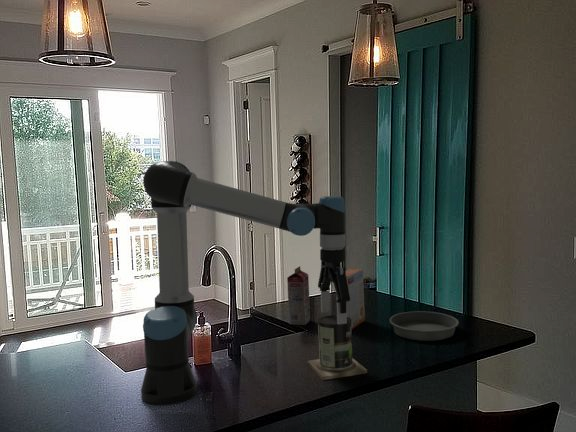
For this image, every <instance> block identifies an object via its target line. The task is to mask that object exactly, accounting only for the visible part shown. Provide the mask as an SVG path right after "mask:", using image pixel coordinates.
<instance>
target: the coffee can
mask: <svg viewBox="0 0 576 432" xmlns="http://www.w3.org/2000/svg"><path fill="white" fill-rule="evenodd" d="M316 321H317V327H318V328H317V330H318V331H317V332H318V353H319V356H318V357H319V358H318V359H319V360H320V363H319V365H320V367H321V368H323V369H326V370H334V371H337V370H345V369H348V368H350V367H352V365H353V363H352V358H353V345H352V344H353V342H352V341H353V338H352V337H353V335H352V330H351V322H352V320H351V318H349V317H347V323H346V324H337V314H334V315H325V316H321V317H319V318H318V319H317V320H316Z"/></svg>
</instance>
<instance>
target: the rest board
mask: <svg viewBox="0 0 576 432" xmlns="http://www.w3.org/2000/svg"><path fill="white" fill-rule="evenodd" d="M319 363H320V360H319V358H318V359H317V358H316V359H310V360H307V365H308V367H310V369H312V370H313V371H314V373H315V374H316V375H317V376H318V377H319V378H320V379H321V380H322V381H325V380H334V379H339V378H344V377H352V376H357V375H364V374H368V369H366V368H365V366H363V365H362V364H361V363H359V362H358V361H357V360H356V359H354V358H353V357H352V363H353V365H352V367H350V368H348V369H345V370H337V371H334V370H326V369H323V368H321V367H320V365H319Z"/></svg>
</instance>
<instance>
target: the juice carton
mask: <svg viewBox="0 0 576 432" xmlns="http://www.w3.org/2000/svg"><path fill="white" fill-rule="evenodd" d="M286 279H287V280H286V281H287V306H288V324H289V325H297V326H298V325H301V326H306V325H307V324H308V323H309V322H310V321H311V313H310V311H311V309H310V284H309V283H310V282H309V274H308V273H307V272H304V271H303V270H302V269H301V266H298V267H296V268H294V272H293V273H292V274H291V275H288V277H287V278H286Z"/></svg>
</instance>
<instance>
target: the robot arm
mask: <svg viewBox="0 0 576 432" xmlns="http://www.w3.org/2000/svg"><path fill="white" fill-rule="evenodd" d="M142 181H143V182H142V183H143V188H144V190H145V193H146V194H147V196H149V197H150V207H151V209H152V210H153V211H154V212H155V213H156V228H157V252H158V258H157V259H158V282H159V283H158V284H159V286H158V287H159V292H158V294H157V295H156V296H155V297H154V309H150V310H149V311H148V312H147V313H146V314H145V315H144V316H143V325H142V328H143V329H142V330H143V335H144V336H143V340H144V352H145V353H144V354H145V355H144V356H145V367H146V368H145V373H144V377H143V380H142V385H141V388H140V390H141V392H140V393H141V394H140V395H141V399H142V401H143V402H145V403H147V404H150V405H155V406H156V405H157V406H158V405H159V406H166V405H168V406H169V405H173V404H178V403H181V402H185V401H188V400H189V399H191V398H192V397H194V396H195V395H196V393H197V391H198V387H197V385H198V384H197V381H196V377H195V376H194V373H193V370H192V368H191V366H190V361H189V359H190V357H189V338H190V336H191V334H192V333H193V332H194V330H195V328H196V325H197V323H198V321H197V320H198V314H197V310H196V308H195V295H193V294H192V293H191V292H190V290H189V288H190V285H189V258H188V257H189V255H188V252H189V250H188V227H187V226H188V222H187V221H188V219H187V218H188V217H187V213H188V212H189V210H190V209H191V208H192V207H193V206H195V207H198V208H201V209H205V210H209V211H212V212H217V213H220V214H223V215H227V216H231V217H235V218H239V219H242V220H245V221H250V222H253V223H257V224H262V225H264V226H267V227H268V226H269V227H271V228H275V229H279V230H282V231H285V232H289V233H291V234H292V235H295V236H298V237H299V236H300V237H302V236H303V237H304V236H306V235H309V234H310V233H312V231H313V230H314V229H316V230H317V229H319V246H320V249H319V252H320V254H319V257H320V261H321V262H320V272H319V277H318V282H317V287H318V288H319V291H320V312H321V313H330V312H331V301H330V300H331V295H330V294H331V293H330V291H331V288H330V286H331V283H333V286H334V290H335V295H336V294H337V297H338V300H337V301H336V300H335V301H336V302H337V304H336V315H337V324H346V323H347V301H350V295H349V290H348V284H347V279H346V270H347V269H346V267H345V266H343V267H342V266H341V263H343V262H344V261H346V249H345V247H346V240H347V236H346V207H345V206H346V205H345V199H344V197H342V196H340V195H338V196H337V195H336V196H335V195H331V196H330V195H329V196H328V195H327V196H321V197H320V198H319V200H318V202H317V203H289V202H286V201H284V200H283V201H282V200H279V199H275V198H271V197H268V196H264V195H261V194H257V193H252V192H250V191H246V190H243V189H239V188H236V187H232V186H229V185H225V184H221V183H217V182H215V181H210V180H207V179H203V178H200V177H197V174H196V173H194V172H193V171H192V172H191V170H189V168H188V167H187V166H186V165H185V164H183V163H181V162H179V161H175V160H163V161H161V160H160V161H157V162H155V163H153V164H151V165H150V166H149V167H148V168H147V169H146V170H145V172H144V175H143V180H142Z"/></svg>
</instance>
